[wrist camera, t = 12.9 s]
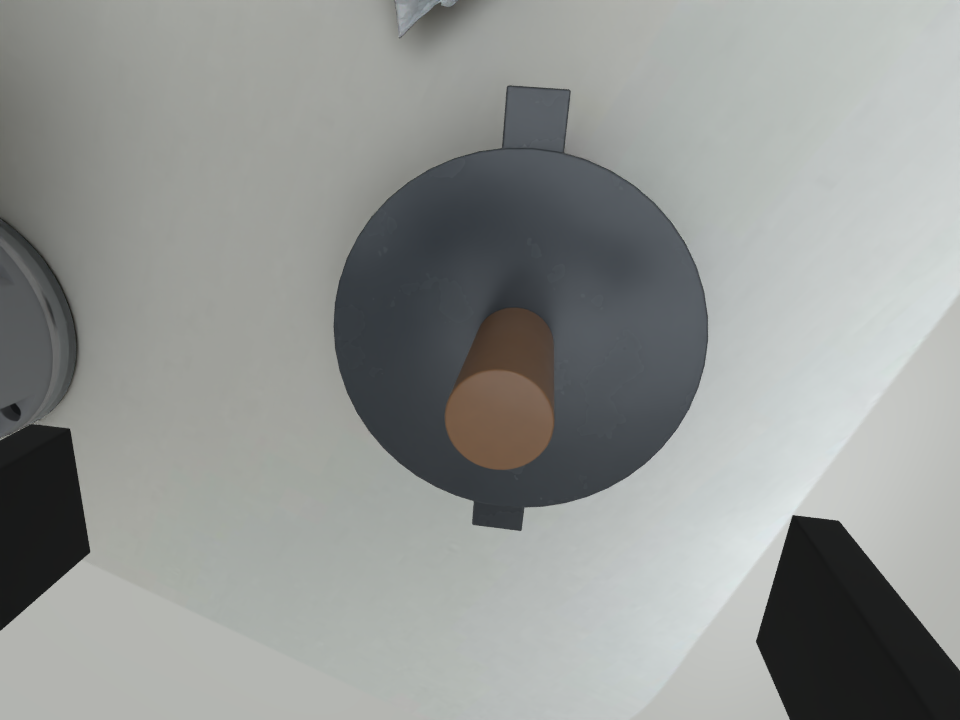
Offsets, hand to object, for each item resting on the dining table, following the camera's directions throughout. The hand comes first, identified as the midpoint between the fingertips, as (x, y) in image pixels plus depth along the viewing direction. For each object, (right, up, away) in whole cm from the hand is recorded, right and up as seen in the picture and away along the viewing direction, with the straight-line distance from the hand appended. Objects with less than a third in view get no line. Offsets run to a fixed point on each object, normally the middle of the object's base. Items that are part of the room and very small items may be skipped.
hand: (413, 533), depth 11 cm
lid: (+3, +4, +14) cm, 15 cm away
